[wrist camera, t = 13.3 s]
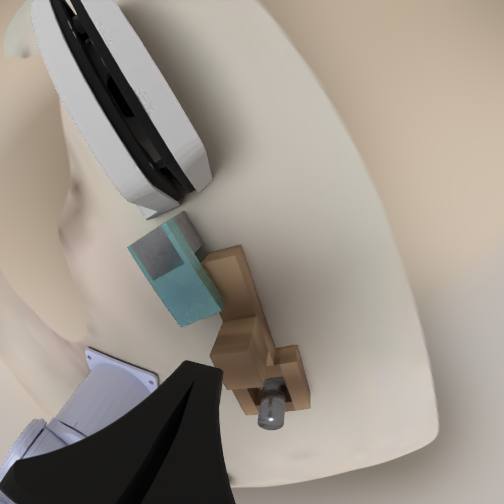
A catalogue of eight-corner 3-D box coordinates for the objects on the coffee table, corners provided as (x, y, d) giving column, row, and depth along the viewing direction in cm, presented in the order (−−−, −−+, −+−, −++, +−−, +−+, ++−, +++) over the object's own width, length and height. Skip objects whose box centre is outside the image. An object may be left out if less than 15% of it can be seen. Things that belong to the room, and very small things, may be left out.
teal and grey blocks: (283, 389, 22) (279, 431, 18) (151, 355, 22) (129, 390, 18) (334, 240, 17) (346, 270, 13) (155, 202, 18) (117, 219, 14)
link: (310, 392, 22) (310, 442, 17) (248, 400, 23) (238, 447, 18) (265, 238, 18) (254, 274, 13) (186, 258, 19) (153, 296, 14)
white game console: (61, 53, 14) (2, -7, 5) (111, 20, 15) (74, -57, 5) (154, 223, 18) (102, 248, 9) (214, 184, 18) (224, 166, 9)
